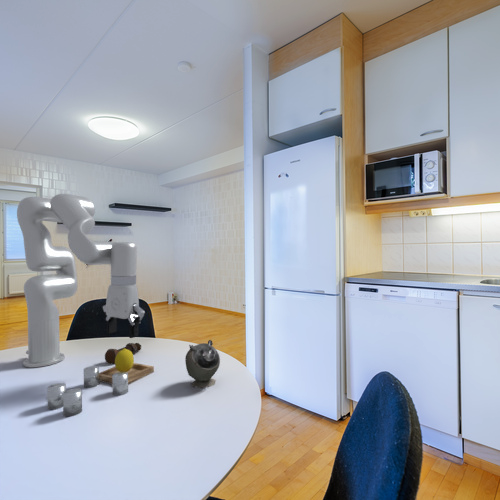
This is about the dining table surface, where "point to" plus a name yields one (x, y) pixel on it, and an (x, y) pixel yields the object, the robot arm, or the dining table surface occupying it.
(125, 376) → the cylinder
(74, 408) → the cylinder
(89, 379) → the cylinder
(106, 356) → the bolt
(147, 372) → the tray
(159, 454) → the dining table surface
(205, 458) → the dining table surface
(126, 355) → the lemon
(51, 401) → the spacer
